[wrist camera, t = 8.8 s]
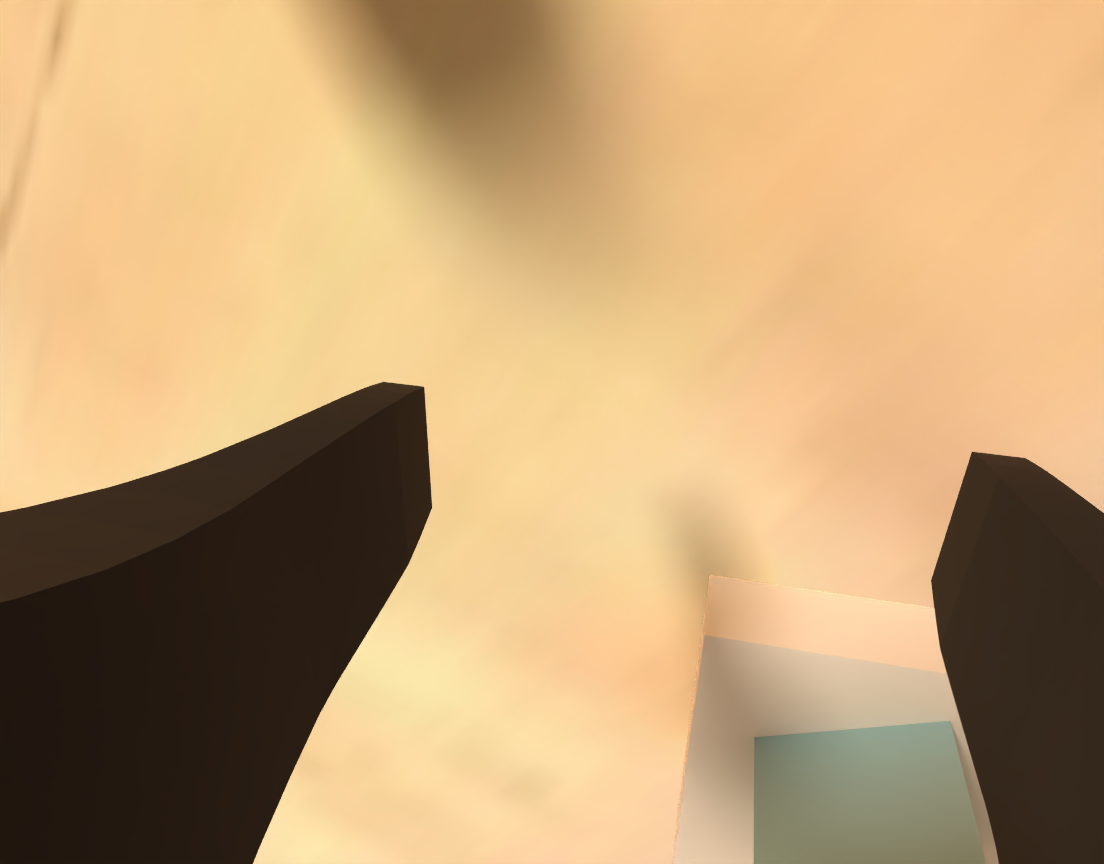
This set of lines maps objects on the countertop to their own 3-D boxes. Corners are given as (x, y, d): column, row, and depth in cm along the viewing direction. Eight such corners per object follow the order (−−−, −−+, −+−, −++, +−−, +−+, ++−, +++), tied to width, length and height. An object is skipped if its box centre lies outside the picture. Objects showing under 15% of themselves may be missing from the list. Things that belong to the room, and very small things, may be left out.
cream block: (1087, 617, 22) (1130, 702, 20) (985, 848, 27) (1009, 940, 24) (710, 563, 24) (704, 634, 21) (679, 788, 29) (671, 868, 26)
